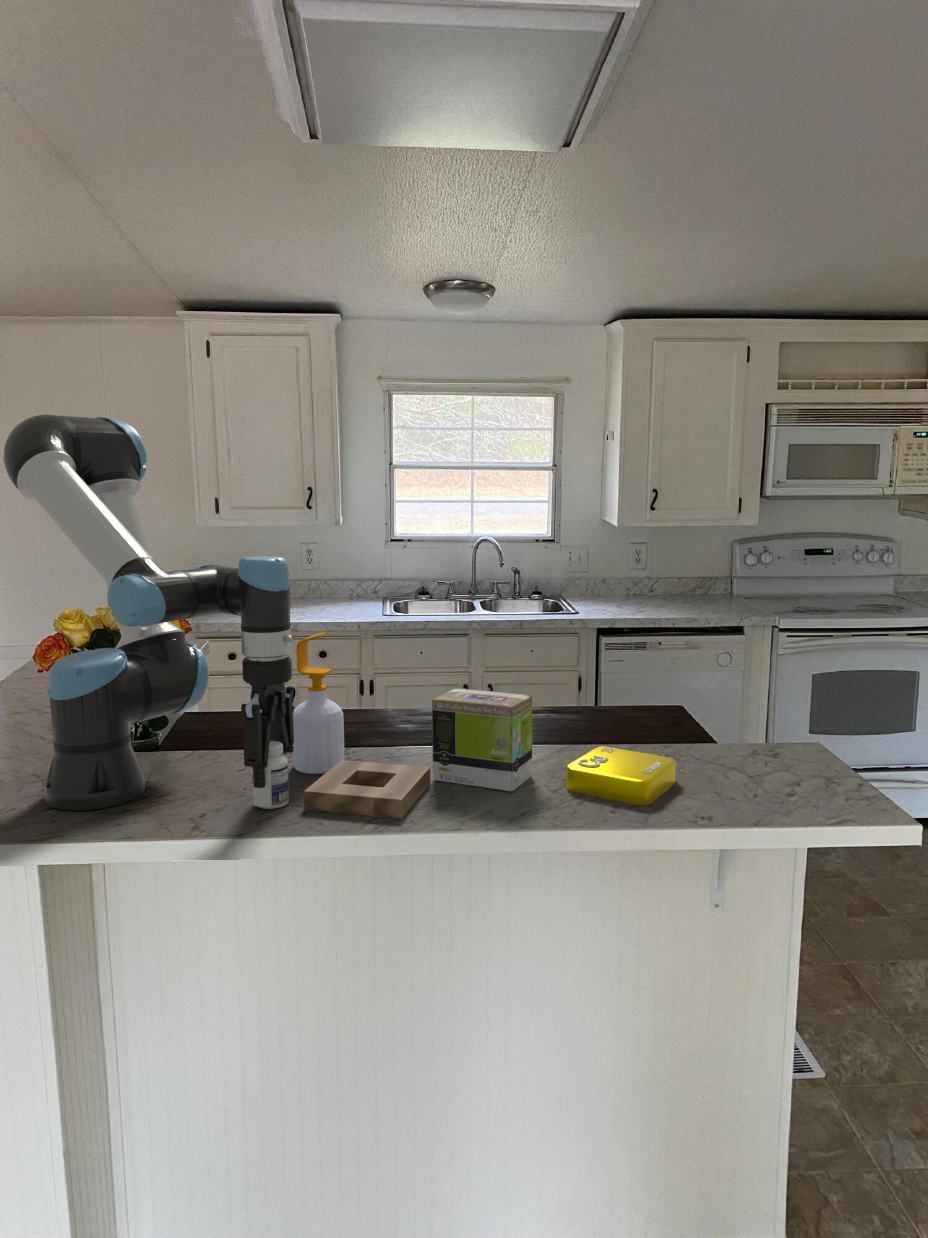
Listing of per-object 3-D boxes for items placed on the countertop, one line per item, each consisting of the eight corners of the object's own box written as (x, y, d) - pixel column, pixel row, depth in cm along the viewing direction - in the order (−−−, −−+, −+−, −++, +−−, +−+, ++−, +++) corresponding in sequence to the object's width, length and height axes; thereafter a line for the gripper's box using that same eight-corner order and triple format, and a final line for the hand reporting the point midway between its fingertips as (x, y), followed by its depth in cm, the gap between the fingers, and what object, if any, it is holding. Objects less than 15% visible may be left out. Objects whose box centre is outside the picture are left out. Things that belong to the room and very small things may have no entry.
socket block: (304, 809, 138) (303, 791, 138) (342, 776, 154) (341, 760, 153) (401, 818, 134) (401, 799, 134) (430, 784, 150) (430, 767, 149)
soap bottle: (334, 776, 154) (331, 638, 150) (285, 773, 155) (281, 636, 152) (351, 760, 162) (348, 629, 158) (304, 757, 164) (300, 627, 160)
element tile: (646, 809, 139) (647, 780, 139) (561, 791, 147) (561, 764, 147) (678, 782, 152) (679, 755, 151) (598, 767, 160) (599, 742, 159)
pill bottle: (251, 800, 142) (249, 741, 140) (285, 795, 144) (283, 738, 143) (257, 811, 137) (255, 751, 136) (292, 807, 139) (290, 747, 138)
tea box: (533, 776, 154) (534, 693, 152) (512, 794, 145) (513, 707, 143) (455, 764, 160) (455, 685, 158) (430, 781, 151) (430, 697, 149)
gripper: (262, 669, 127) (267, 822, 131) (313, 646, 145) (316, 781, 148) (214, 667, 129) (221, 818, 133) (271, 644, 147) (275, 778, 150)
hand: (271, 798), depth 140 cm, fingers closed on pill bottle, 5 cm apart
